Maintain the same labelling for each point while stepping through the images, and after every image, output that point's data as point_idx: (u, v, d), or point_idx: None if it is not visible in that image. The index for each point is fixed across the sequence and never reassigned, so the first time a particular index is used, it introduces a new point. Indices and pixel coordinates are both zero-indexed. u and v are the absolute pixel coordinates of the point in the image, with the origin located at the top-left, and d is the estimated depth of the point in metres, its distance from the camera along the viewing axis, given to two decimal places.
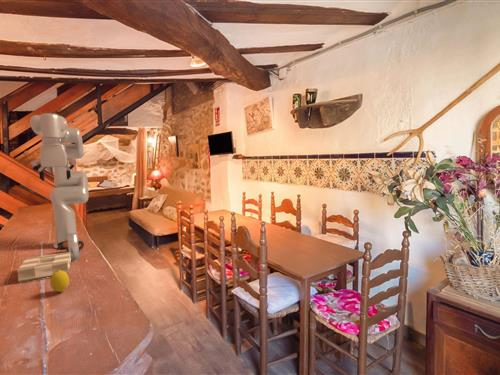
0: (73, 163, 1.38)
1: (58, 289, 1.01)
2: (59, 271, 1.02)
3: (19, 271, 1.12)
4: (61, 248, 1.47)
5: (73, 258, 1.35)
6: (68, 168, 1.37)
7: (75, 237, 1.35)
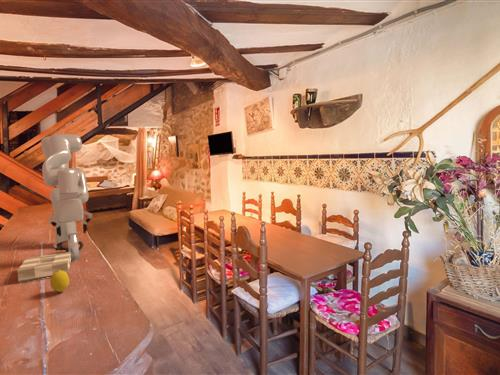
0: (89, 216, 1.38)
1: (58, 289, 1.01)
2: (59, 271, 1.02)
3: (19, 271, 1.12)
4: (60, 248, 1.46)
5: (73, 258, 1.35)
6: (85, 222, 1.37)
7: (75, 237, 1.35)
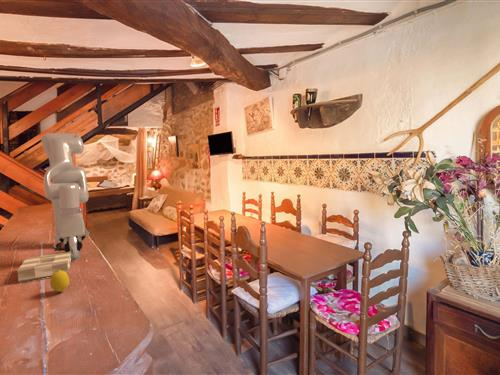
0: (86, 234, 1.38)
1: (58, 289, 1.01)
2: (59, 271, 1.02)
3: (19, 271, 1.12)
4: (59, 249, 1.45)
5: (73, 258, 1.35)
6: (80, 239, 1.37)
7: (75, 237, 1.35)
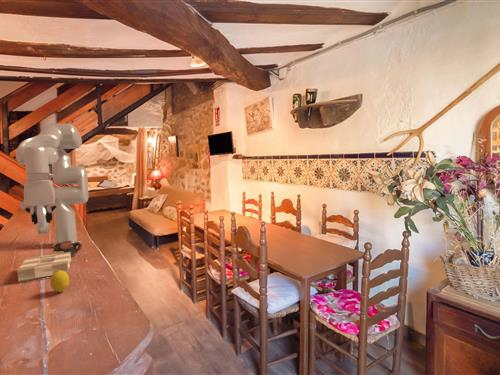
0: (57, 205, 1.22)
1: (58, 289, 1.01)
2: (59, 271, 1.02)
3: (19, 271, 1.12)
4: (58, 250, 1.45)
5: (41, 231, 1.19)
6: (50, 210, 1.20)
7: (43, 207, 1.19)
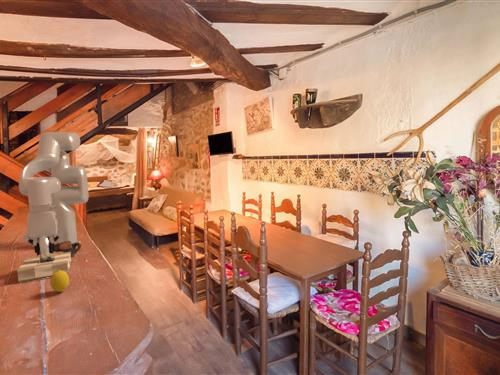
0: (59, 235, 1.23)
1: (58, 289, 1.01)
2: (59, 271, 1.02)
3: (19, 271, 1.12)
4: (57, 250, 1.44)
5: (44, 262, 1.20)
6: (53, 240, 1.22)
7: (46, 238, 1.20)
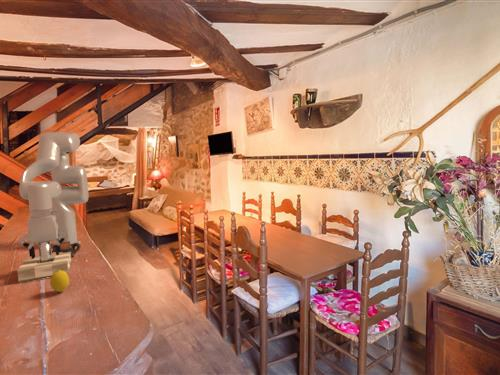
0: (64, 236, 1.24)
1: (58, 289, 1.01)
2: (59, 271, 1.02)
3: (19, 271, 1.12)
4: None
5: None
6: (58, 242, 1.23)
7: (47, 245, 1.20)
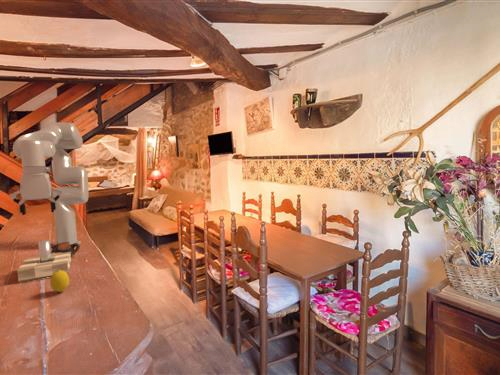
0: (58, 194, 1.23)
1: (58, 289, 1.01)
2: (59, 271, 1.02)
3: (19, 271, 1.12)
4: (55, 251, 1.43)
5: None
6: None
7: (47, 245, 1.20)
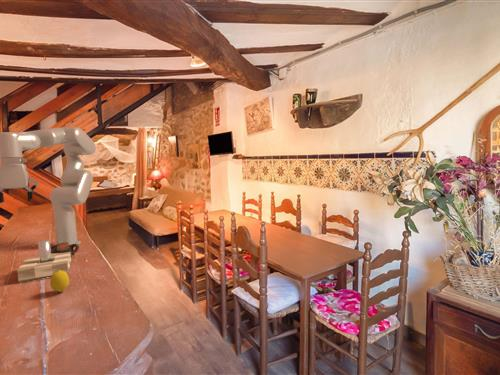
0: (35, 183, 1.31)
1: (58, 289, 1.01)
2: (59, 271, 1.02)
3: (19, 271, 1.12)
4: (54, 251, 1.42)
5: None
6: (29, 189, 1.30)
7: (47, 245, 1.20)
